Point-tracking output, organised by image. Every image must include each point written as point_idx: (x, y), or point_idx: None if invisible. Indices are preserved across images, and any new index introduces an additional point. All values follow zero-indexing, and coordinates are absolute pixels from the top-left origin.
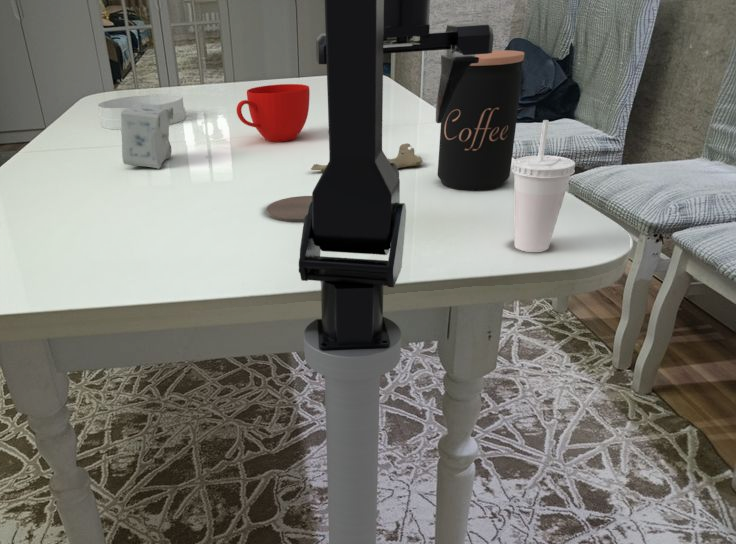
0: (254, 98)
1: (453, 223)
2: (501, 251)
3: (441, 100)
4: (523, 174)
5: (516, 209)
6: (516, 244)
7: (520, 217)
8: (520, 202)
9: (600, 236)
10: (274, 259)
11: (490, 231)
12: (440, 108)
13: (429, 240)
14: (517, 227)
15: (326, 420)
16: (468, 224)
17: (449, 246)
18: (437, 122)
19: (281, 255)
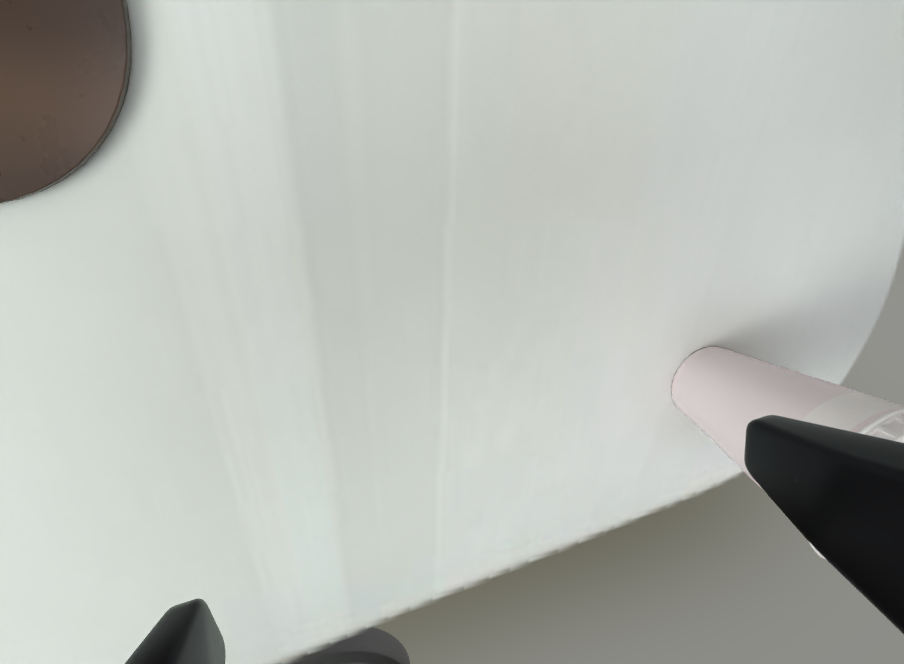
0: None
1: (568, 213)
2: (637, 415)
3: (898, 612)
4: (818, 552)
5: (732, 447)
6: (676, 401)
7: (725, 450)
8: (752, 477)
9: (851, 301)
10: (44, 561)
11: (648, 281)
12: (835, 567)
13: (487, 364)
14: (703, 427)
15: None
16: (607, 222)
17: (532, 400)
18: (747, 469)
19: (54, 532)
